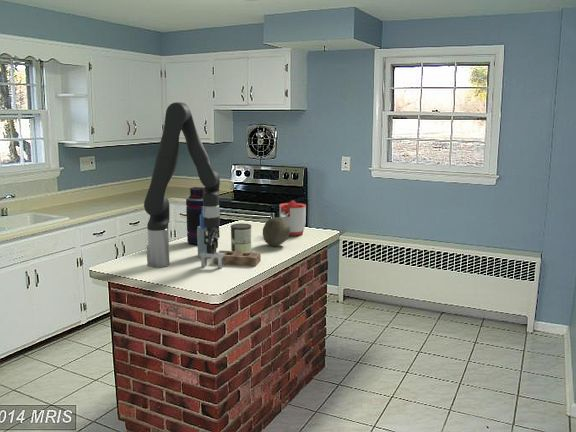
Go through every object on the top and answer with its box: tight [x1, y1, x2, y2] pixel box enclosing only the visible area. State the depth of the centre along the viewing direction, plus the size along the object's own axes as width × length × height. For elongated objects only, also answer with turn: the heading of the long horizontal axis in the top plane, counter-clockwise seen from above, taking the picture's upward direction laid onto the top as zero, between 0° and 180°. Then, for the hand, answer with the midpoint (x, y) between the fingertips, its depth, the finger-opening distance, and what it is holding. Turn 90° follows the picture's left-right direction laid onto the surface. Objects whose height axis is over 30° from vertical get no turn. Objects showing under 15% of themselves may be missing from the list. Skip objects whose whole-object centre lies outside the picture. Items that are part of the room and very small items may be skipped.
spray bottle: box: [197, 206, 214, 259], centre depth 267 cm, size 9×9×25 cm
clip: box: [199, 242, 225, 270], centre depth 249 cm, size 11×3×12 cm, turn 79°
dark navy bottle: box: [185, 186, 205, 245], centre depth 293 cm, size 14×12×30 cm
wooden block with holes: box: [213, 250, 262, 267], centre depth 258 cm, size 20×9×4 cm, turn 79°
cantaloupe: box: [262, 216, 290, 247], centre depth 289 cm, size 14×14×15 cm
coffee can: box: [230, 222, 252, 252], centre depth 274 cm, size 10×10×14 cm
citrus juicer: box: [279, 199, 307, 237], centre depth 315 cm, size 16×17×20 cm
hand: (212, 250), depth 249 cm, fingers open, 8 cm apart
